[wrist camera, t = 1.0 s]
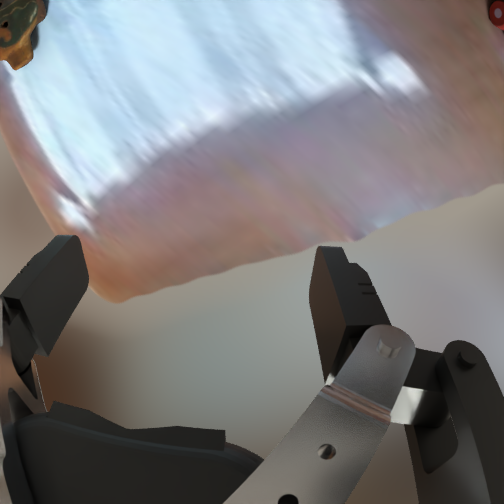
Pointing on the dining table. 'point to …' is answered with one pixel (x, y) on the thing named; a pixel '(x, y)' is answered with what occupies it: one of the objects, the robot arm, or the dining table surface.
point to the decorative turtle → (19, 29)
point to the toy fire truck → (497, 14)
